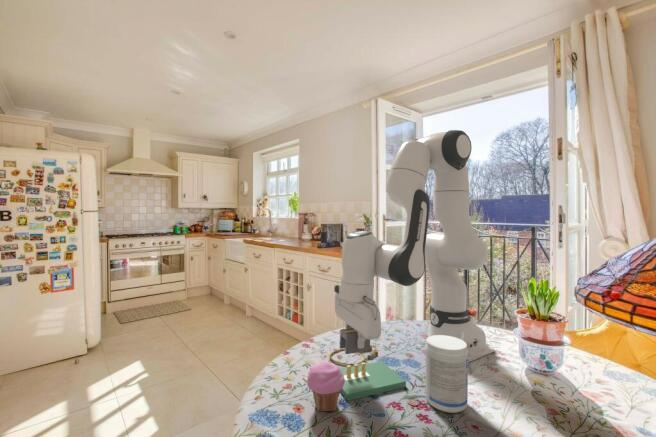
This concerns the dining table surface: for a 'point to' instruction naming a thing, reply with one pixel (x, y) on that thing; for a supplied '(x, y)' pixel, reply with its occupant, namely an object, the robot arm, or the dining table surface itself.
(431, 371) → the supplement tub
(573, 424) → the dining table surface
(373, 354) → the extension cord
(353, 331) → the box
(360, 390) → the header board
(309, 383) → the cupcake
